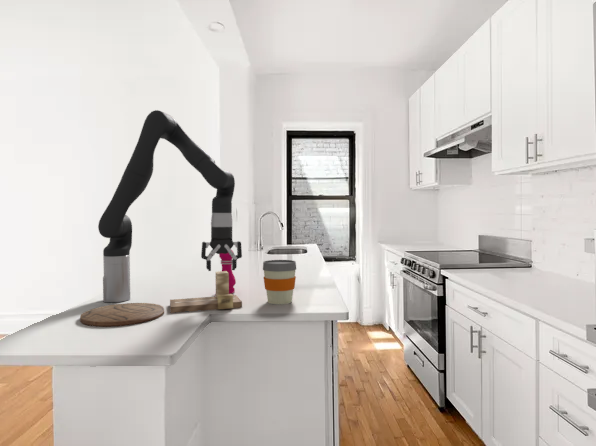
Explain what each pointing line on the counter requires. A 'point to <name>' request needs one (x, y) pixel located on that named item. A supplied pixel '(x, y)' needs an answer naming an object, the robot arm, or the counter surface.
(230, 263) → the pepper mill
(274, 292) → the reusable coffee cup
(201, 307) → the walnut board
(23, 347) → the counter surface
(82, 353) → the counter surface
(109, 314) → the trivet
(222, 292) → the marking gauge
